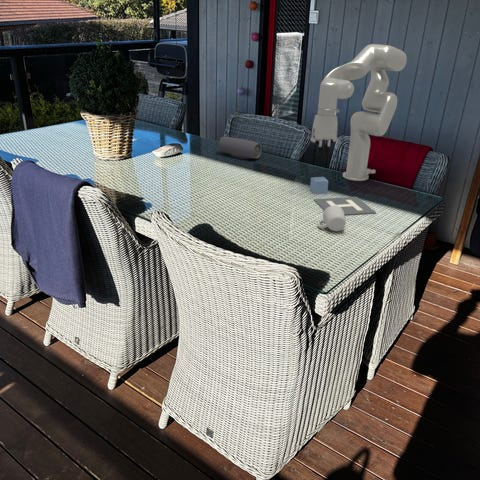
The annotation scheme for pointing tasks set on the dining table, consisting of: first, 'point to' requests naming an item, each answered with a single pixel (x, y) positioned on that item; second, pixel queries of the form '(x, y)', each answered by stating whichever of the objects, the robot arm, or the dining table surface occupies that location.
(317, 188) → the cube
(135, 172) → the dining table surface
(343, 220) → the cup
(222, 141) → the bluetooth speaker
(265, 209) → the dining table surface
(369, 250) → the dining table surface
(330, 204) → the letter mat
